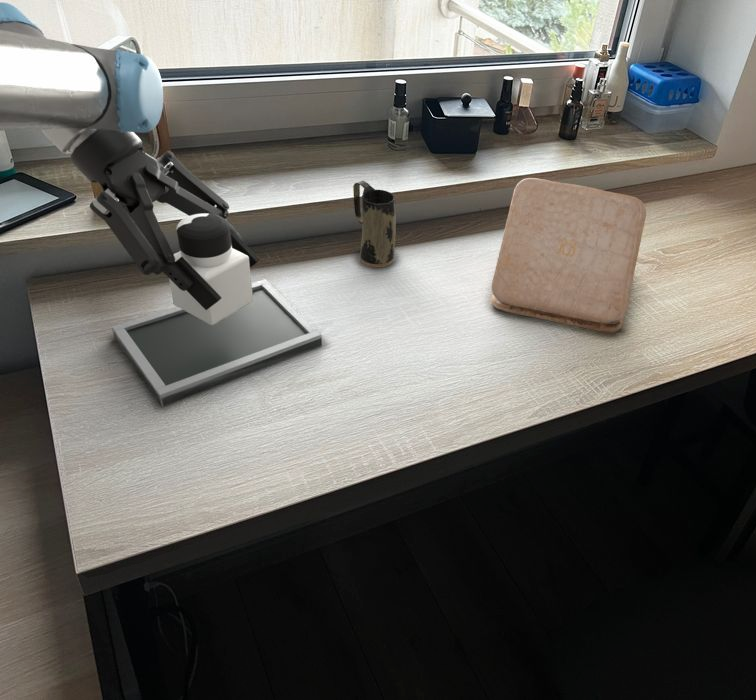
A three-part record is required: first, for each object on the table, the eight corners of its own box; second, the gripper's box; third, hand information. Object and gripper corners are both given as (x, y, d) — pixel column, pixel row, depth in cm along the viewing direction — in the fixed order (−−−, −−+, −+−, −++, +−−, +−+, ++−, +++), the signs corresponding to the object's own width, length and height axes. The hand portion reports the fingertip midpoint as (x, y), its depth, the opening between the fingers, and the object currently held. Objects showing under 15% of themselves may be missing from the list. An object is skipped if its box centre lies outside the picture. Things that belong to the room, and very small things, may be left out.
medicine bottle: (254, 302, 95) (246, 220, 87) (212, 327, 90) (199, 243, 82) (216, 282, 97) (204, 201, 90) (172, 305, 92) (157, 222, 85)
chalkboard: (162, 407, 87) (159, 394, 86) (114, 338, 96) (111, 326, 95) (322, 345, 99) (321, 334, 98) (266, 289, 108) (265, 278, 107)
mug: (401, 260, 118) (404, 192, 111) (376, 271, 115) (378, 203, 107) (368, 240, 122) (369, 174, 115) (343, 251, 118) (342, 184, 111)
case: (484, 312, 109) (498, 217, 99) (511, 246, 125) (524, 159, 115) (619, 342, 106) (646, 247, 96) (628, 270, 123) (652, 183, 113)
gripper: (134, 123, 93) (257, 256, 101) (10, 191, 77) (168, 344, 84) (164, 90, 89) (290, 231, 97) (40, 154, 73) (203, 318, 80)
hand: (233, 284), depth 91 cm, fingers closed on medicine bottle, 9 cm apart
